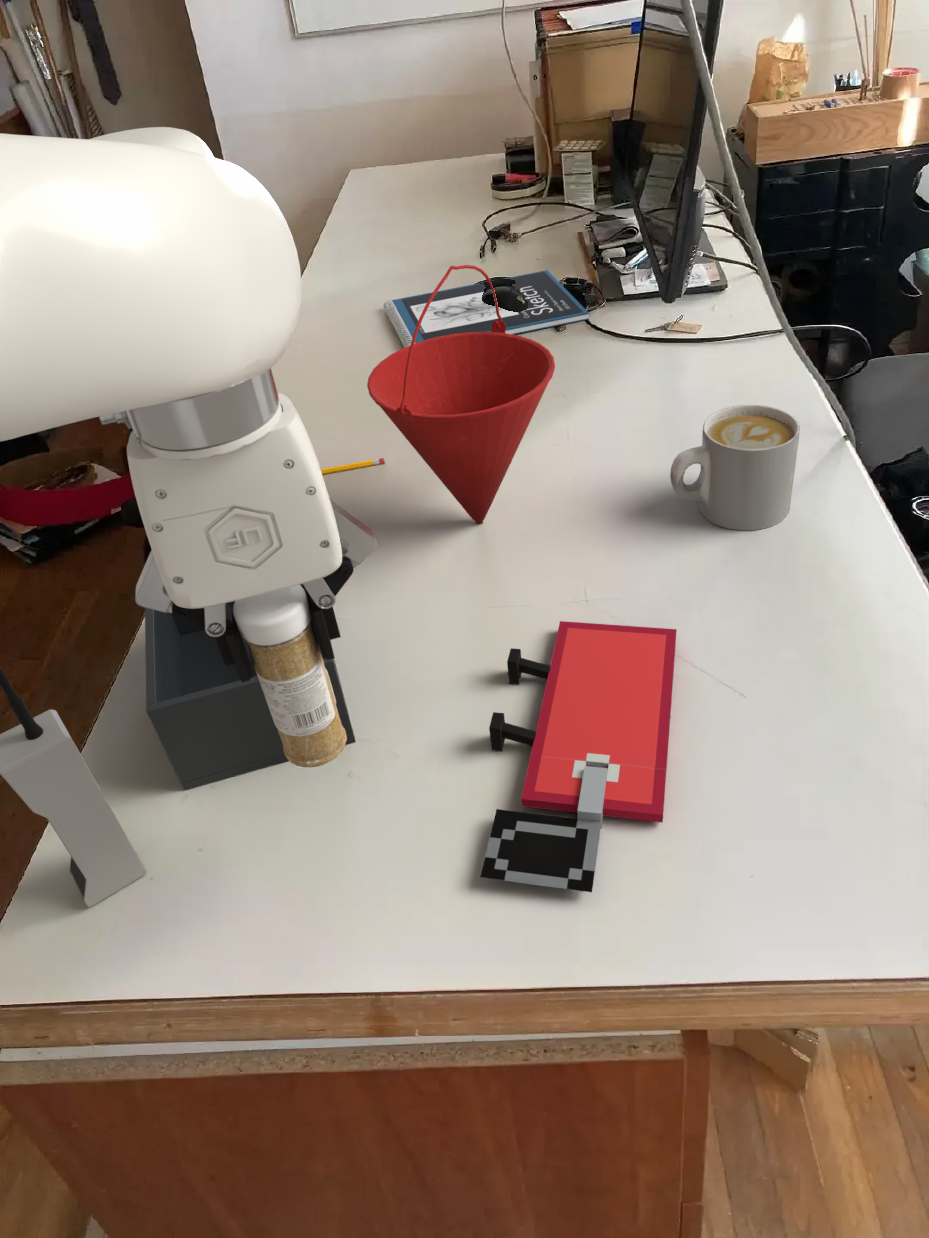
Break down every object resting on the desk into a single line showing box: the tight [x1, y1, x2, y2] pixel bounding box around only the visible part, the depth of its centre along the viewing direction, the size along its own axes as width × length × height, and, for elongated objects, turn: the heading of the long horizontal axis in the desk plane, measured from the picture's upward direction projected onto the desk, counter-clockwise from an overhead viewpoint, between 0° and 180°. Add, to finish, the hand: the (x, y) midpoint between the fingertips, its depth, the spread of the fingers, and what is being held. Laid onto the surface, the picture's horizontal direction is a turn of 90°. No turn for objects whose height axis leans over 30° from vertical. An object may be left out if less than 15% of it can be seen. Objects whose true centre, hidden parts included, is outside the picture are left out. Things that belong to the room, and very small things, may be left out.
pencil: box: [320, 457, 385, 476], centre depth 121 cm, size 1×19×1 cm, turn 99°
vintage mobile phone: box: [0, 666, 148, 908], centre depth 68 cm, size 4×5×25 cm
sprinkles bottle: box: [233, 585, 347, 768], centre depth 61 cm, size 5×5×14 cm
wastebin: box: [143, 564, 356, 791], centre depth 88 cm, size 22×16×10 cm
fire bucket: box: [366, 264, 556, 525], centre depth 99 cm, size 22×20×30 cm
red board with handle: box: [479, 620, 677, 893], centre depth 80 cm, size 30×3×15 cm
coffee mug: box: [669, 404, 801, 531], centre depth 102 cm, size 13×10×10 cm
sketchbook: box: [383, 269, 590, 348], centre depth 155 cm, size 22×30×2 cm
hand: (285, 654), depth 60 cm, fingers closed on sprinkles bottle, 4 cm apart
